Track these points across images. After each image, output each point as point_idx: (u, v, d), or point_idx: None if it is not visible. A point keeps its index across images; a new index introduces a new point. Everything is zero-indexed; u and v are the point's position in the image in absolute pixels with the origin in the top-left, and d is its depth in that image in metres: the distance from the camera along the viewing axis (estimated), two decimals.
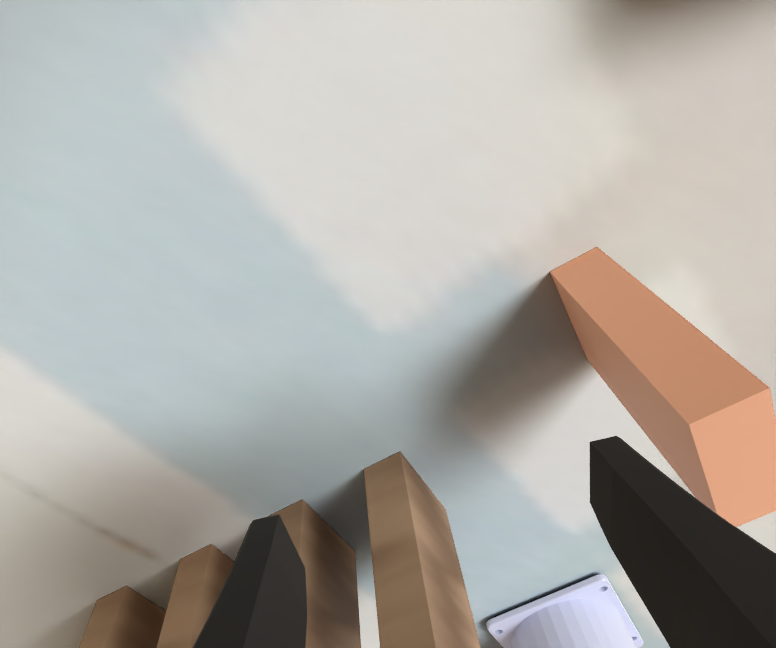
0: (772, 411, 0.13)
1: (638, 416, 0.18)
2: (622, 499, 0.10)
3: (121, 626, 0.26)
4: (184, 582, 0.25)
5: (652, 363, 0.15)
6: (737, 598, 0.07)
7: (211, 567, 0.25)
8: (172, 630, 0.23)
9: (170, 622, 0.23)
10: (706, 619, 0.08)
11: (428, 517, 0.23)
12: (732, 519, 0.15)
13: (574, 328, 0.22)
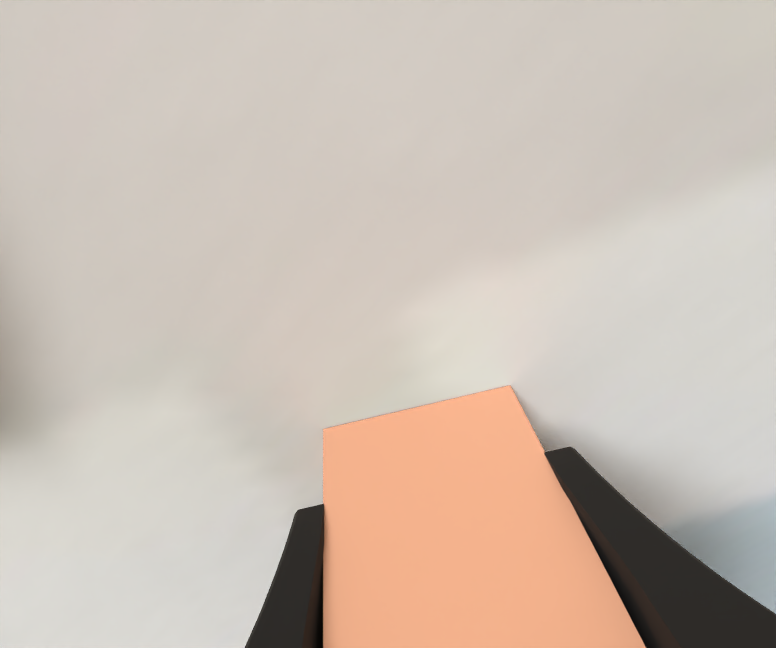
0: None
1: None
2: None
3: None
4: None
5: None
6: (666, 614, 0.07)
7: None
8: None
9: None
10: (643, 633, 0.08)
11: None
12: None
13: None
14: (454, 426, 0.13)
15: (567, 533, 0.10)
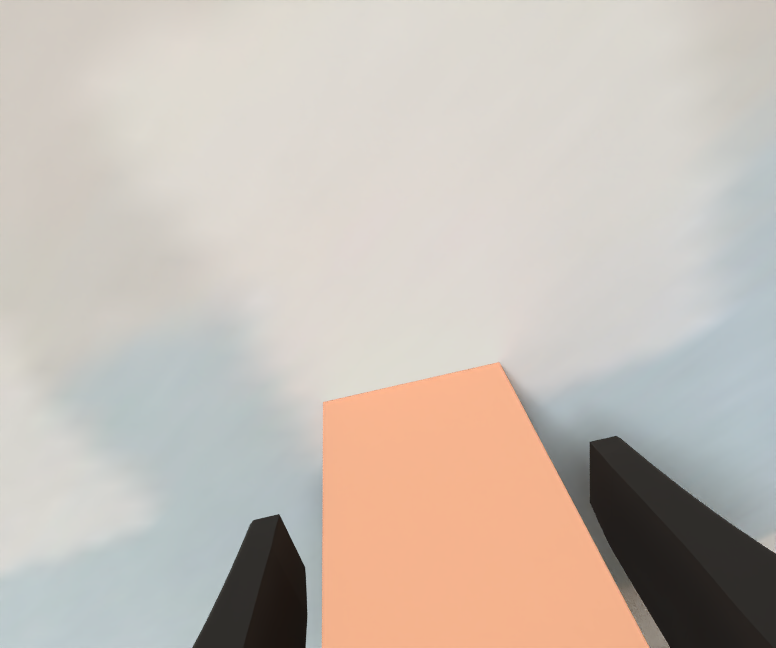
0: None
1: None
2: (622, 499, 0.10)
3: None
4: None
5: None
6: (737, 598, 0.07)
7: None
8: None
9: None
10: (706, 619, 0.08)
11: None
12: None
13: None
14: (446, 398, 0.13)
15: (546, 487, 0.10)
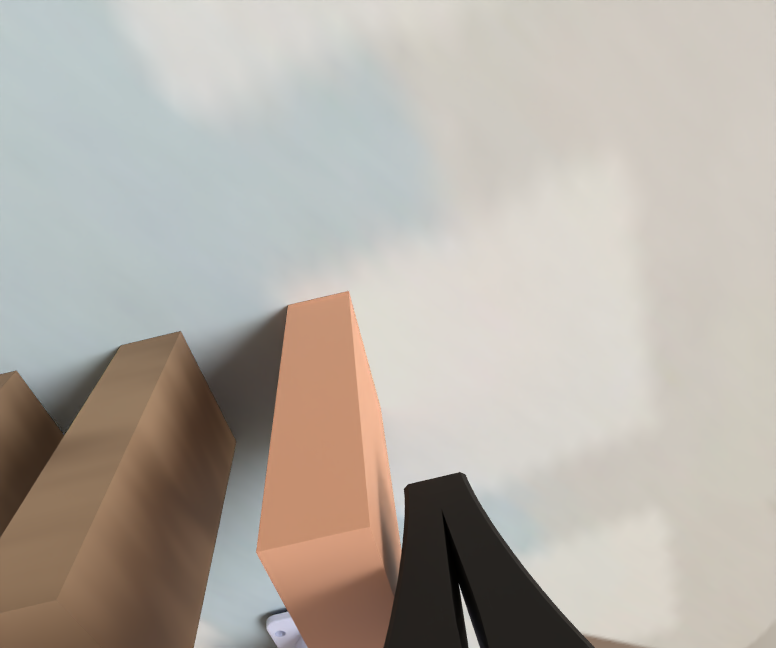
0: (378, 557, 0.09)
1: None
2: (449, 539, 0.10)
3: None
4: None
5: (287, 450, 0.11)
6: None
7: None
8: None
9: None
10: None
11: (189, 428, 0.16)
12: None
13: None
14: (372, 389, 0.17)
15: (392, 496, 0.15)
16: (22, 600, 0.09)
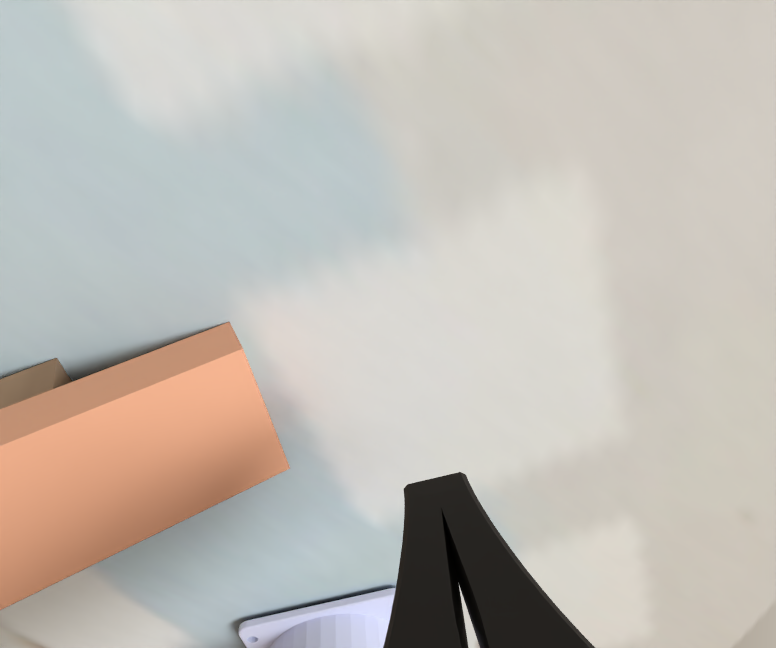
0: None
1: None
2: (450, 539, 0.10)
3: None
4: None
5: None
6: None
7: None
8: None
9: None
10: None
11: None
12: None
13: None
14: (245, 444, 0.16)
15: (154, 525, 0.16)
16: None
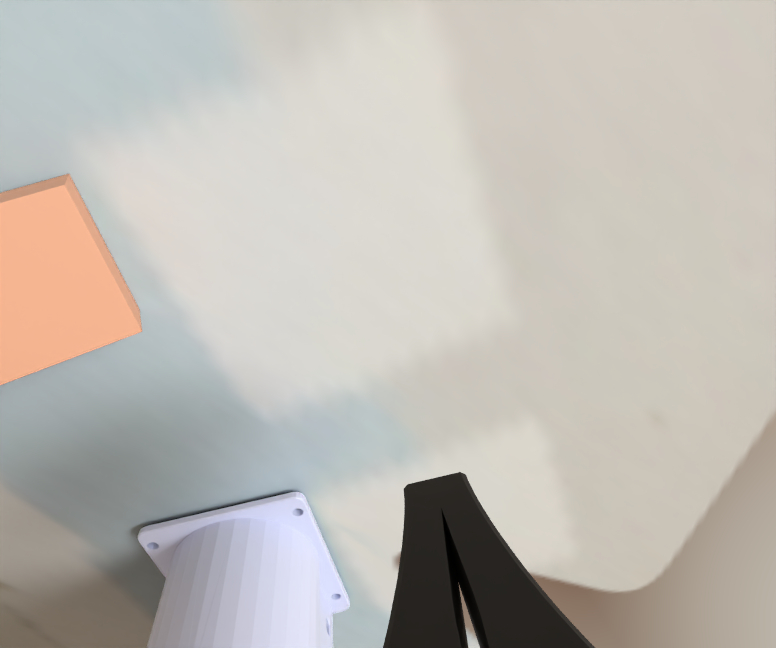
0: None
1: None
2: (449, 539, 0.10)
3: None
4: None
5: None
6: None
7: None
8: None
9: None
10: None
11: None
12: None
13: None
14: (84, 298, 0.16)
15: None
16: None
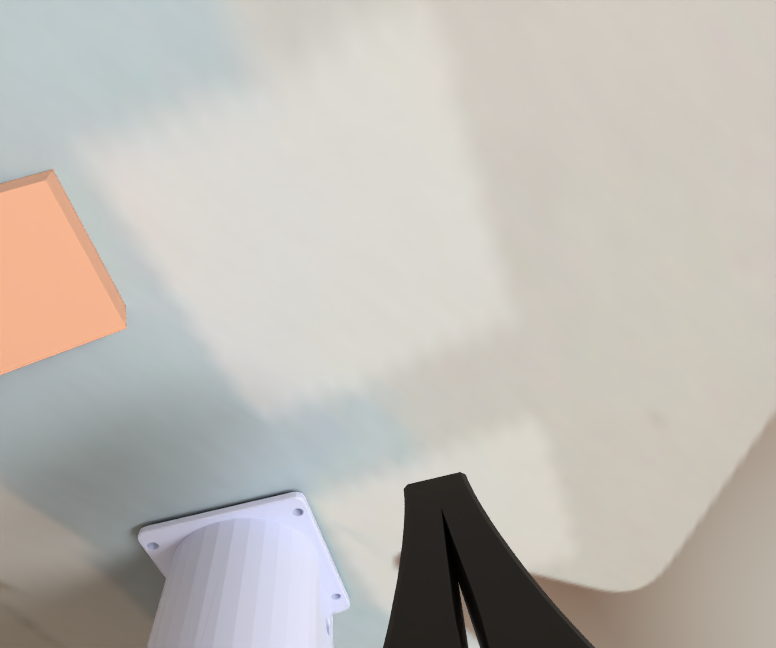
0: None
1: None
2: (449, 539, 0.10)
3: None
4: None
5: None
6: None
7: None
8: None
9: None
10: None
11: None
12: None
13: None
14: (67, 294, 0.16)
15: None
16: None
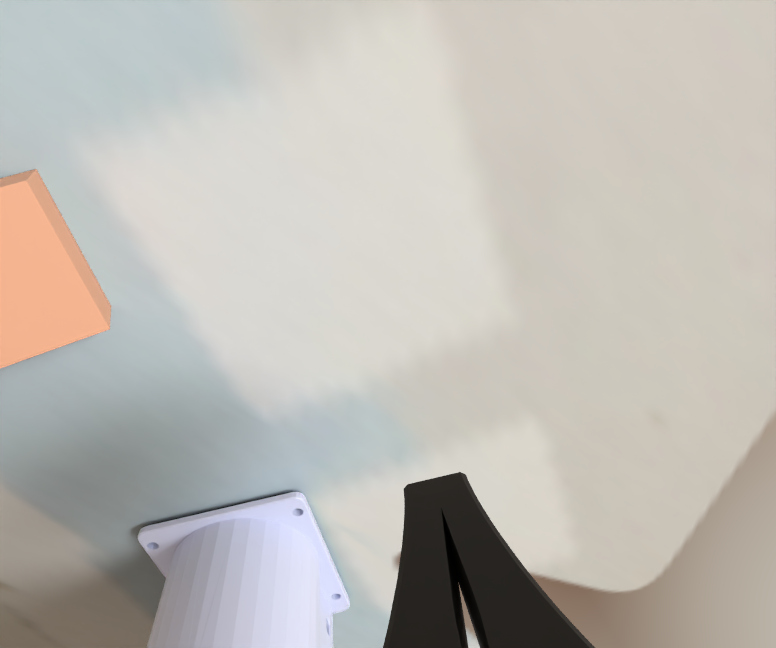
0: None
1: None
2: (449, 539, 0.10)
3: None
4: None
5: None
6: None
7: None
8: None
9: None
10: None
11: None
12: None
13: None
14: (49, 294, 0.16)
15: None
16: None
